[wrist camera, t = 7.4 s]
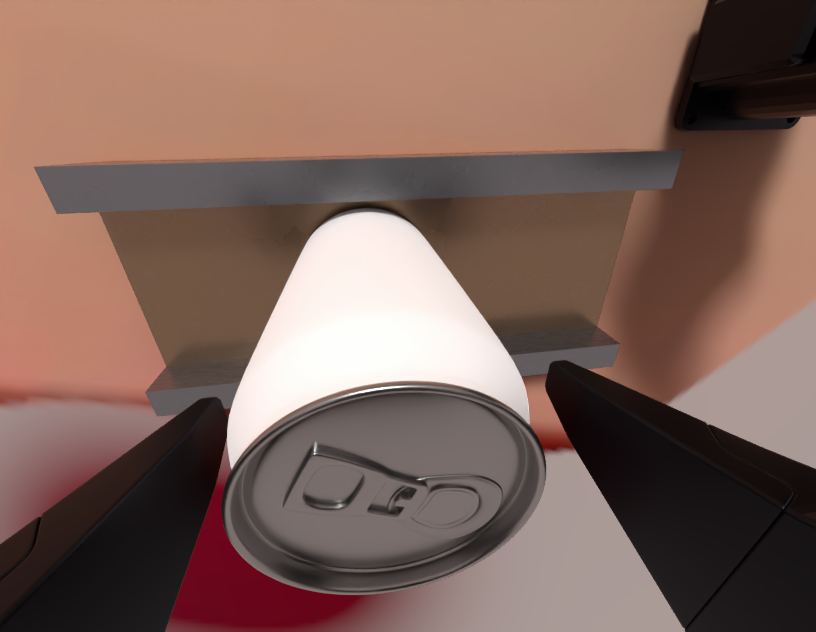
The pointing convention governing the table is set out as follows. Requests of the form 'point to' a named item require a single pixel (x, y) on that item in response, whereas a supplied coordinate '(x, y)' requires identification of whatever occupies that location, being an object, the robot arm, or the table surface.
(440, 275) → the can
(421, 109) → the table surface
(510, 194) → the track
